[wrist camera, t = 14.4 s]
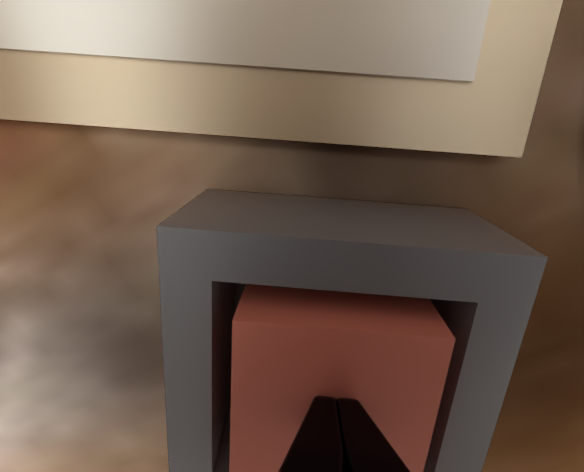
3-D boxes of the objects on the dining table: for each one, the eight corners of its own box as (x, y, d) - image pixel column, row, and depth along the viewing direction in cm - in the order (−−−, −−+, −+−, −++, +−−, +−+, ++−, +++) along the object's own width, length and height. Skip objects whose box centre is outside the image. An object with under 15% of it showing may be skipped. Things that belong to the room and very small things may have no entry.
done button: (411, 270, 9) (455, 338, 7) (387, 397, 11) (416, 500, 8) (255, 258, 9) (232, 320, 7) (250, 385, 11) (229, 483, 8)
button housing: (467, 208, 10) (547, 257, 7) (420, 416, 12) (462, 531, 9) (207, 188, 10) (156, 226, 7) (208, 397, 12) (170, 503, 9)
